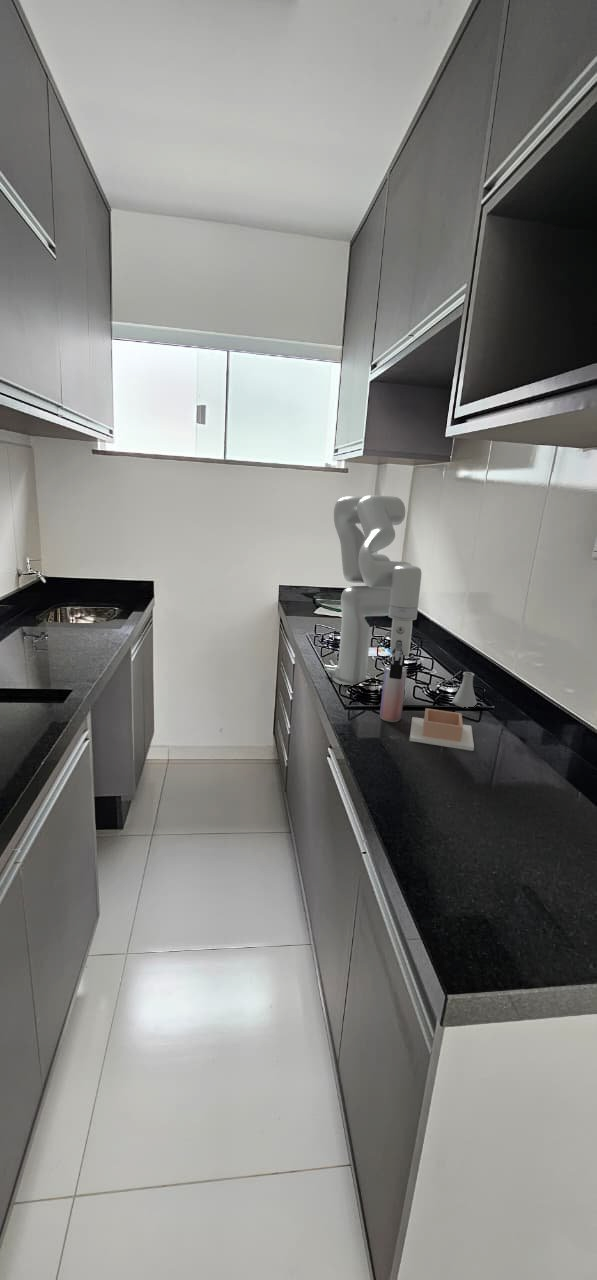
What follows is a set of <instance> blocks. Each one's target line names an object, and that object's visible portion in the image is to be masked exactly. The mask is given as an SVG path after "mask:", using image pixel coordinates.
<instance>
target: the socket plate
mask: <svg viewBox="0 0 597 1280" xmlns="http://www.w3.org/2000/svg"><path fill="white" fill-rule="evenodd" d="M424 710H425V711H424V717H423V718H422V717H415V716H412V718H411V725H410V735H409V742H414V743H421V744H428V745H435V746H441V747H447V748H452V749H453V748H454V749H459V750H466V751H474V750H475V744H474V737H473V729H472V725H471V724H470V725H468V724H463V714H462V713H461V712H453V711H448V710H447V711H446V710H442V709H440V710H439V709H433V708H427V707H426V708H425V709H424Z"/></svg>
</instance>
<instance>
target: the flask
mask: <svg viewBox="0 0 597 1280" xmlns="http://www.w3.org/2000/svg"><path fill="white" fill-rule="evenodd" d="M462 675H463V679H462V682H461V685H460V686H459V689H458V690H457V692H456V694H455V696H454V698H453V699H452V701H451V703H452V704H453V705H455V706H456V707H460V708H464V707H466V708H465V709H469V708H468V707H474V706H475V705H476V704H477V699H476V695H475V691H474V685H473V683H474V677H475V673H473V672H469V671H463V673H462ZM477 705H478V704H477ZM477 705H476V706H477ZM476 706H475V707H476ZM475 707H474V708H475Z"/></svg>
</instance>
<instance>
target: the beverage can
mask: <svg viewBox="0 0 597 1280" xmlns="http://www.w3.org/2000/svg"><path fill="white" fill-rule="evenodd" d="M390 665H391V664H388V665H386V666H385V669H384V674H383V685H382V691H381V701H380V709H379V717H380V718H381V719H382V720H383V721H385V722H387V723H388V722H389V723H395V722H396V723H398V722H399V721H400V720H401V719H402V714H403V707H404V698H405V687H406V681H407V668H406V667H405V666H404V667H403V669H402V678H401V679H393V678H390V677H389V675H390Z"/></svg>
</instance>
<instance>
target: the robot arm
mask: <svg viewBox="0 0 597 1280" xmlns="http://www.w3.org/2000/svg"><path fill="white" fill-rule="evenodd" d="M405 517H406V506H405V503H404V502H403V499H401V498H399V497H398V496H394V495H393V496H390V495H389V496H388V495H377V494H376V495H366V496H355V495H349V496H344V497H341V498H339V499H337V501H336V502H335V504H334V508H333V522H334V527H335V531H336V533H337V536H338V538H339V544H340V553H341V555H340V556H341V563H342V565H341V566H342V572H343V577H344V579H345V580H346V581H347V582H349V583H353V584H365V585H352V586H349V587H346V588H344V589H343V591H342V593H341V595H340V607H341V608H340V609H341V627H340V641H339V653H338V663H337V665H330V664H324V671H326V673H330V674H332V678H331V679H332V681H333V682H334V683H336V684H339V685H341V684H342V685H341V686H344V685H353V684H356V683H358V682H360V681H364V680H366V679H371V676H369V675H367V673H368V661H369V653H370V652H369V651H370V645H371V644H370V643H371V632H372V631H371V627H370V625H369V622H367V620H366V619H365V618H366V617H385V616H388V618H390V619H392V621H391V630H390V631H391V632H390V649H389V650H390V655H391V656H392V658H391V663H390V664H389V665H390V675H389V677H390V678H393V679H401V678H402V669H403V667H405V658H406V657H409V655H410V652H411V651H410V650H411V642H412V633H413V621H415V620H417V617H418V608H419V601H420V591H421V582H422V569H421V568H420V567H418V566H415V565H412V564H411V562H407V561H395V560H394V561H392V560H390V558H389V557H388V556H387V555H385V554H382V553H376V552H378V551H381V550H383V549H385V548H387V547H389V546H390V545H391V544H392V543H393V542H394V541H395V538H396V531H395V529H394V526H398V525H401V524H402V523H403V521H404V520H405ZM358 524H359V525H361V528H362V529H360V527H358V526H357V525H358ZM362 531H363V532H362Z"/></svg>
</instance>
